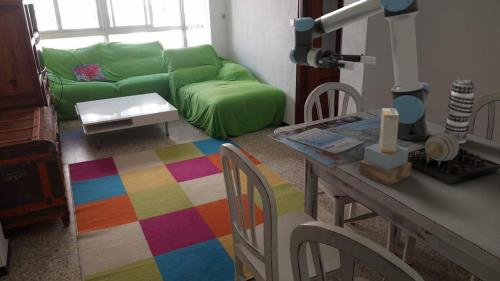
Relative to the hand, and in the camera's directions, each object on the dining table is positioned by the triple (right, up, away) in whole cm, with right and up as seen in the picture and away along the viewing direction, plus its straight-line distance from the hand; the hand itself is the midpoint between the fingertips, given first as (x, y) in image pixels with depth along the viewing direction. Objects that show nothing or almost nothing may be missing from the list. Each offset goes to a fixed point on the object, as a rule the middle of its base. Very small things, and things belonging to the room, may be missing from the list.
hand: (364, 63), depth 140 cm
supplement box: (+4, -31, -12) cm, 34 cm away
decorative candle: (+43, -28, +19) cm, 55 cm away
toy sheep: (+27, -37, -1) cm, 46 cm away
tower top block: (+4, -36, -10) cm, 37 cm away
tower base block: (+4, -41, -8) cm, 42 cm away
